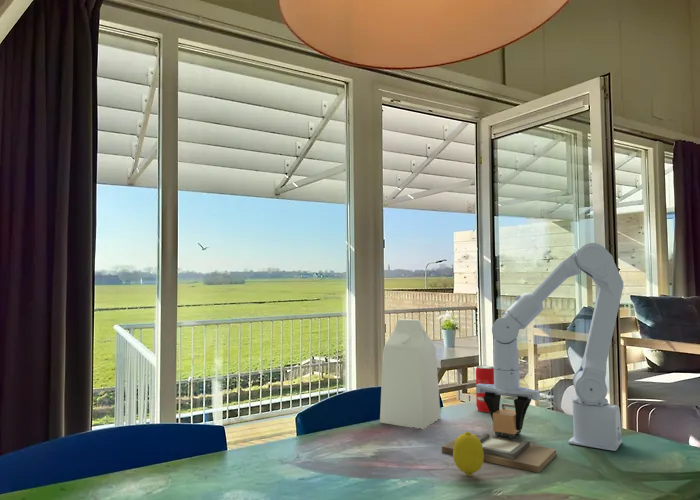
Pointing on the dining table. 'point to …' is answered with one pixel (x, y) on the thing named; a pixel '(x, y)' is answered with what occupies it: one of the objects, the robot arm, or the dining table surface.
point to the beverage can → (483, 377)
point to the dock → (511, 453)
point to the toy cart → (505, 421)
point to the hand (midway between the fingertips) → (507, 427)
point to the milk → (409, 377)
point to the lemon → (468, 453)
